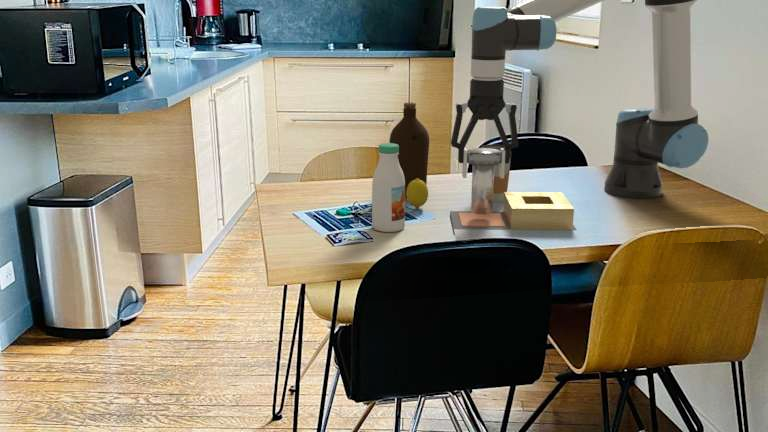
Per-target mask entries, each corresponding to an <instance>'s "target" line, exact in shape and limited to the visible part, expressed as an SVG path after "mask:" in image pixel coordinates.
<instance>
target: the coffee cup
mask: <svg viewBox="0 0 768 432" xmlns="http://www.w3.org/2000/svg"><path fill="white" fill-rule="evenodd" d="M480 148H491V149H497V150H500V151H501V148H504V145H503V144H486V145H485V144H484V145H482V146H481V147H480ZM512 156H513V155H512V151H511V150H510V161H509V164H505V169H504V178H500V176H499V172H500V164H498V165H494V184H493V203H494V202H495V203H497V202H498V203H499V202H504V192H508V188H509V178H510V169H511V160H512V159H511V158H512Z"/></svg>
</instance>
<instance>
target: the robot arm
mask: <svg viewBox="0 0 768 432" xmlns="http://www.w3.org/2000/svg"><path fill="white" fill-rule="evenodd" d="M603 1H605V0H527V1H524V2H522V3H519V4H517V5H515V6H514V7H511V8H509V9H508V8H507V7H504V6H478V7H476V8H475V9H474V11H473V15H472V25H471V56H470V57H471V59H470V77H472V78H471V79H470V82H469V98H468V100H467V102H462V103H461V102H457V103H456V104H455V109H456V110H455V111H456V115H455V120H454V125H453V130H452V134H451V135H452V136H451V141H450V145H451V147H452V148H456V149H457V152H458V153H457V155H458V156H457V160H458V164H462V170H461V171H462V172H461V174H462V175H461V176H462V178H463V179H467V175H468V173H467V172H468V163H467V150H468V149H467V147H466V146H467V144H468V141H469V139H470V137H471V135H472V133H473V131H474V129H475V127H476V125H477V124H478V121H484V120H487V121H493V122H494V125H495V127H496V129H497V132H498V135H499V138H500V140H501V142H502V145H504V148H501V152H502V154H501V163H500V172H499V176H500V178H504V169H505V164H509V161H510V162H511V160H510V151H511V150H512V149H514V148H515V149H516V148H518V147H519V137H518V129H517V120H516V112H517V108H518V107H517V105H516V104H515V103H514V102H512V103H508V102H505V100H504V91H505V90H504V89H505V87H504V86H505V80H504V79H503V78H504V77H505V71H506V70H505V68H506V66H505V65H506V53H507V51H540V50H548V49H550V48H551V47H553V45H554V44H555V42H556V39H557V29H558V28H557V24H556V23H557V22H559V21H561V20H563V19H564V20H565V19H566V18H568V17H570V16H572V15H574V14H577V13H579V12H581V11H583V10H586V9H588V8H589V7H593V6H594V5H596V4H597V5H598V4H599V3H601V2H603ZM696 1H697V0H644V4H645V5H644V6H645V8H647V9H648V10H649V11H651V20H652V22H651V23H652V26H651V27H652V52H653V53H652V55H653V57H652V58H653V59H652V60H653V89H654V90H653V93H654V101H653V102H654V107H649V108H648V107H646V108H643V107H642V108H641V107H640V108H638V107H637V108H626V109H621V110H620V111H619V113H618V114H617V119H616V123H615V125H616V126H615V127H616V128H615V129H616V130H615V139H614V140H615V141H614V151H613V152H614V153H613V162H612V165H611V167H610V170H609V171H608V174H607V176H606V179H605V181H604V188H603V189H604V192H606V193H608V194H610V195H613V196H618V197H621V198H628V199H630V198H631V199H653V198H658V197H660V196H661V195H662V193H663V192H662V191H663V184H662V183H663V182H662V179H661V174H660V170H659V164H662V165H665V166H667V167H668V168H669V167H670V168H675V169H688V168H690V167H693V166H694V165H695V164H697V163H699V161H700V159H701V158H702V157H704V155H705V153H706V151H707V149H708V146H709V133H708V131H707V129H705V126H702V125H701V124H699V112H698V110H697V109H696V108H694V106H693V105H692V65H691V64H692V63H691V61H692V56H691V55H692V54H691V53H692V52H691V50H692V49H691V43H692V42H691V38H692V37H691V35H692V34H691V9H692V6H694V4H695V3H696ZM467 108H468V109H469V110H470V113H472V114H471V117H470V120H469V122H468V123H467V126H466V127H465V130H464V133H463V135H462V136H461V138H460V140H459V135H460V131H461V126H462V122H463V115H464V113H466V109H467ZM504 109H505V112H506V113H507V114H508V123H509V130H510V138H511V141H510V142H509V140H508V138H507V135H506V132H505V129H504V126H503V124H502V121H501V119H500V114H501V112H502V111H503V110H504ZM458 140H459V141H458Z"/></svg>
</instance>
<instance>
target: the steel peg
mask: <svg viewBox="0 0 768 432" xmlns="http://www.w3.org/2000/svg"><path fill="white" fill-rule="evenodd" d="M501 154H502V152H501V151H500V150H497V149H491V148H481V147H475V148H470V149H467V164H470V165H472V170H471V171H472V174H471V198H470V199H471V200H470V202H471V203H470V211H471V212H472V213H475V214H490V213H492V211H493V205H494V202H493V184H494V165H498V164H500V163H501Z"/></svg>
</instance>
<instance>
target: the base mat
mask: <svg viewBox="0 0 768 432" xmlns="http://www.w3.org/2000/svg"><path fill="white" fill-rule="evenodd" d="M449 219H450V220H449V221H450V224H451V228H452V233H453V236H455V235H456V234H455V230H492V231H493V230H494V231H496V230H500V231H501V230H504V231H505V230H506V231H507V230H510V231H511V230H513V231H515V230H516V231H517V229H510V226H509V224H508V222H507V220H506V217H505V215H504V213H503V211H493V210H492V213H490V214H475V213H472V212H471V210H470V211H468V210H467V211H466V210H465V211H464V210H459V211H458V210H450V211H449ZM571 231H577V228H576V227H575V225H574V224H573V229H572V230H571Z"/></svg>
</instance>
